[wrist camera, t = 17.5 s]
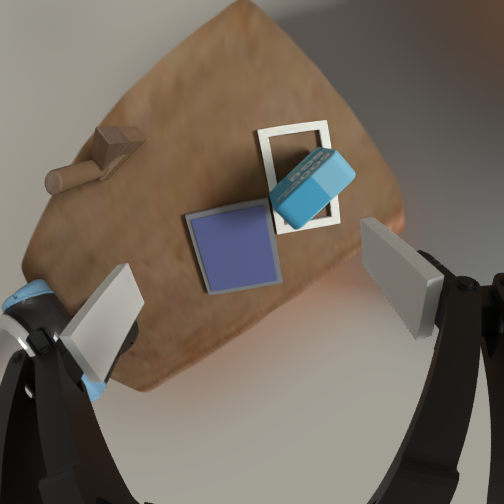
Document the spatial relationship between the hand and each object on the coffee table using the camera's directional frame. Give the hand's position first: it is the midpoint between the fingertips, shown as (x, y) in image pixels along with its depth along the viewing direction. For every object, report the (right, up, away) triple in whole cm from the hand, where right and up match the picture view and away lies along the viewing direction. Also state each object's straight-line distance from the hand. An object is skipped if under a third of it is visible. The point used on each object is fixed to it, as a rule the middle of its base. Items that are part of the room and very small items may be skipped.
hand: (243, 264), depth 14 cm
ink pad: (-2, +1, +37) cm, 37 cm away
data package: (+9, +13, +31) cm, 35 cm away
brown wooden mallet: (-24, +19, +30) cm, 42 cm away
